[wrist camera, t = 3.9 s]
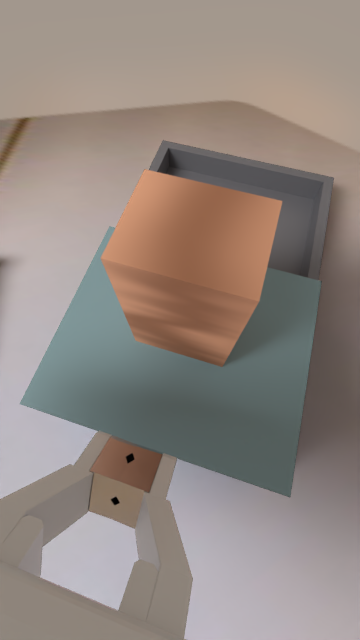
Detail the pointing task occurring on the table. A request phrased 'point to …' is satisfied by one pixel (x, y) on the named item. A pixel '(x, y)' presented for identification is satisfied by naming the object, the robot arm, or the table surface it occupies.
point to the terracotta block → (190, 263)
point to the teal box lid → (187, 381)
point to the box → (268, 181)
